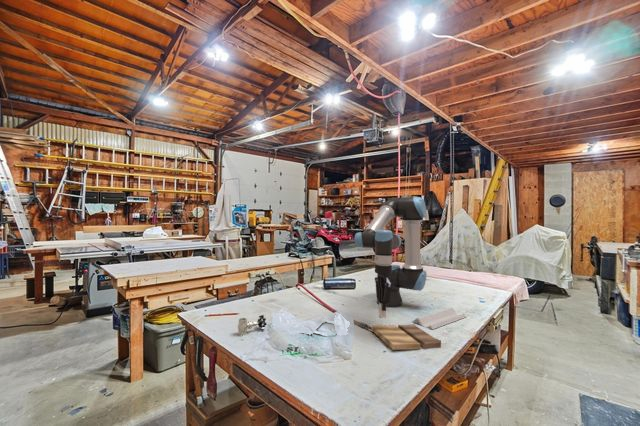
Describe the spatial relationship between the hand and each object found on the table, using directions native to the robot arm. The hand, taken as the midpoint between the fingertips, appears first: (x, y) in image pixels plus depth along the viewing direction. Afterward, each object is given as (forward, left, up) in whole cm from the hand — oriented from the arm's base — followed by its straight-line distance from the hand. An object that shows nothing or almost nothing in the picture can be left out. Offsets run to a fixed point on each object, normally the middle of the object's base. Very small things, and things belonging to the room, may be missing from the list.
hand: (382, 317), depth 128 cm
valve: (-14, -57, -8) cm, 59 cm away
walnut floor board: (+7, +14, -8) cm, 17 cm away
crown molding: (-11, +38, -8) cm, 40 cm away
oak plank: (+7, +2, -7) cm, 10 cm away
